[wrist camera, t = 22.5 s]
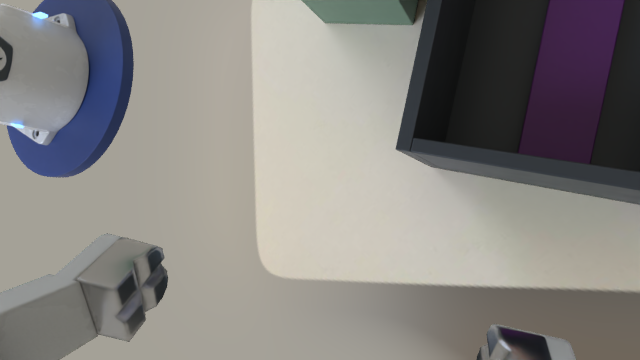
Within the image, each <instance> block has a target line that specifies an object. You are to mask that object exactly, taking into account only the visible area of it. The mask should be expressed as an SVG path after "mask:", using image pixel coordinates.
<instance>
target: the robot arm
mask: <svg viewBox="0 0 640 360" xmlns="http://www.w3.org/2000/svg"><path fill="white" fill-rule="evenodd" d="M47 17H48V15H47V14H45V13H42V12H38V13H34V14H33V13H31V12H27V11H25V10H22V9H19V8H17V7H14V6H11V5H8V4H4V3H2V4H1V5H0V124H4V125H9V126H11V127H14V128H16V129H17V130H19V131H20V132H22V133H23V134H25V135H26V136H28V137H29V138H31V139H32V140H34V141H35V142H37V143H38V144H42V145H49V144H50V143H51V141H52V140H53V138H54V137H55V135H56V133H57V132H58V131H59V130H60V129H61V128H63V127H64V126H65V125H67V124H68V123H69V122H70V121H71V120H72V118H73V117H74V116H75V114H76V113H77V111H78V110H79V108H80V106H81V104H82V101H83V99H84V96H85V92H86V89H87V84H88V76H89V61H88V55H87V51H86V48H85V45H84V43H83V41H82V40H81V38H80V37H79V35H78V34H77V31H76V26H75V22H74V18H73V17H72V16H71V15H68V14H65V13H62V14H58V15H55V16H52V17H49V18H47ZM163 259H164V254H163V249H162V248H161V247H158V246H155V245H151V244H147V243H143V242H140V241H136V240H132V239H128V238H123V237H119V236H116V235H112V234H108V233H107V234H104V235H101V236H99V237H98V238H97V239H96V240H95V241H94V242H92V243H91V244H90V245H89V246H88V247H87V248H86V249H84V250H83V251H82V252H81V253H80V254H79V255H78V256H77V257H75V258H74V259H73V260H72V261H71V262H70V263H68V264H67V265H66V266H65V267H64V268H63V269H62V270H60V271H59V272H58V273H57V274H56V275H51V274H48V275H46V276H43V277H41V278H38V279H35V280H33V281H30V282H27V283H25V284H22V285H19V286H17V287H14V288H12V289H9V290H6V291H4V292H1V293H0V360H60V359H61V358H63V357H65V356H66V355H68V354H70V353H71V352H73V351H74V350H76V349H78V348H79V347H81V346H83V345H84V344H86V343H87V342H89V341H91V340H92V339H94V338H96V337H97V336H98V335H97V334H99V335H103V336H107V337H111V338H115V339H119V340H124V341H127V342H129V341H130V340H131V339H132V337H133V336H134V335H135V333H136V332H137V331H138V329H139V328H140V327H141V326H142V324H143V323H144V322H145V320H146V318H145V312H146V311H148V310H150V309H152V308H154V307H156V306H157V304H158V303H159V302H160V300H161V299H162V297H163V295H164V293H165V290H166V288H167V282H168V276H167V271H166V269H165V268H164V267H163V266H162V265H161V261H162V260H163ZM487 340H488V344H486V345H484V346H482V347H481V348H480V351H479V353H478V356H477V360H576V358H575V355H574V352H573V349H572V346H571V344H570V343H569V342H568V341H567V340H564V339H559V338H556V337H551V336H546V335H540V334H538V333H534V332H529V331H525V330H520V329H516V328H511V327H507V326H502V325H497V324H493V325H492V326H491V327H490V328H489V330H488V332H487Z"/></svg>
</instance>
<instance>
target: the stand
mask: <svg viewBox="0 0 640 360" xmlns="http://www.w3.org/2000/svg"><path fill="white" fill-rule="evenodd" d="M302 1H303V2H304V3H305V4H306V5H307V6H308V7H309V8H310V9H311V10H312V11H313V12H314V13H315V14H316V15H317V16H318V17H319V18H320V19H321V20H322V21H323V22H324V23H344V24H390V25H413V22H414V17H415V13H416V8H417V3H418V0H302Z"/></svg>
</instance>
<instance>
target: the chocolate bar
mask: <svg viewBox="0 0 640 360" xmlns="http://www.w3.org/2000/svg"><path fill="white" fill-rule="evenodd" d="M624 3H625V0H549V4H548V8H547V13H546V18H545V23H544V28H543V32H542V37H541V42H540V47H539V52H538V56H537V61H536V66H535V71H534V76H533V80H532V85H531V90H530V95H529V100H528V104H527V109H526V114H525V119H524V124H523V128H522V133H521V138H520V143H519V148H518V153H520V154H526V155H533V156H540V157H546V158H553V159H560V160H566V161H573V162H580V163H586V164H590V163H591V159H592V154H593V149H594V145H595V140H596V135H597V130H598V126H599V121H600V116H601V112H602V107H603V102H604V97H605V93H606V88H607V83H608V79H609V74H610V69H611V65H612V60H613V55H614V50H615V46H616V41H617V36H618V32H619V27H620V22H621V17H622V13H623V8H624Z"/></svg>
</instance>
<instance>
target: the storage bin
mask: <svg viewBox="0 0 640 360" xmlns="http://www.w3.org/2000/svg"><path fill="white" fill-rule="evenodd" d="M548 4H549V0H428V1H427V5H426V10H425V15H424V19H423V24H422V29H421V33H420V38H419V43H418V47H417V52H416V57H415V61H414V66H413V71H412V75H411V80H410V85H409V89H408V94H407V99H406V103H405V108H404V113H403V117H402V122H401V127H400V131H399V136H398V141H397V146H396V150H398V151H400V152H402V153H404V154H406V155H408V156H410V157H412V158H414V159H416V160H418V161H420V162H422V163H424V164H426V165H428V166H431V167H434V168H440V169H445V170H451V171H456V172H462V173H468V174H473V175H479V176H484V177H490V178H495V179H501V180H506V181H512V182H517V183H523V184H528V185H534V186H539V187H545V188H550V189H556V190H561V191H567V192H573V193H578V194H584V195H589V196H595V197H600V198H606V199H611V200H617V201H622V202H628V203H633V204H639V205H640V0H625V3H624V8H623V13H622V17H621V22H620V27H619V32H618V36H617V41H616V46H615V50H614V55H613V60H612V65H611V69H610V74H609V79H608V83H607V88H606V93H605V97H604V102H603V107H602V112H601V116H600V121H599V126H598V130H597V135H596V140H595V145H594V149H593V154H592V159H591V163H590V164H586V163H580V162H573V161H566V160H560V159H553V158H546V157H540V156H533V155H526V154H520V153H518V148H519V143H520V138H521V133H522V128H523V124H524V119H525V114H526V109H527V104H528V100H529V95H530V90H531V85H532V80H533V76H534V71H535V66H536V61H537V56H538V52H539V47H540V42H541V37H542V32H543V28H544V23H545V18H546V13H547V8H548Z"/></svg>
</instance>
